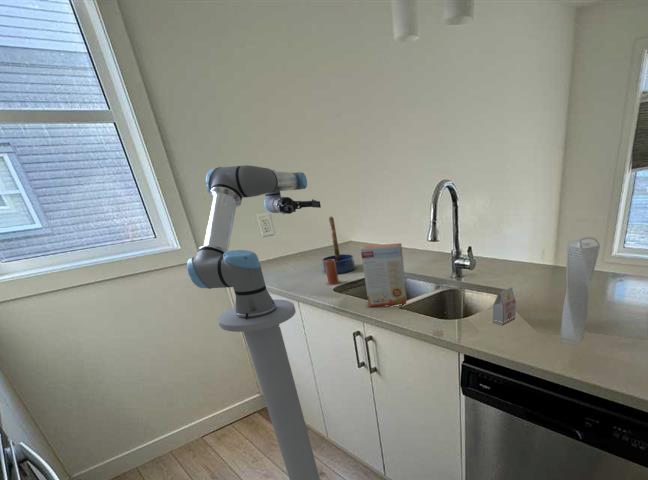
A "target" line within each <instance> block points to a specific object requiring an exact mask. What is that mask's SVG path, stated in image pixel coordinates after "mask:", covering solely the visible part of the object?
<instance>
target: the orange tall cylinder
mask: <svg viewBox="0 0 648 480" xmlns="http://www.w3.org/2000/svg"><path fill="white" fill-rule="evenodd" d="M324 262H325V268H326V272H325V274H326V279H327V282H328V285H337V284H339V283H340V281H339V274H337V269H336V263H335V259H328V260H325V261H324Z"/></svg>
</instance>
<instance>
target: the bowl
mask: <svg viewBox="0 0 648 480" xmlns="http://www.w3.org/2000/svg"><path fill="white" fill-rule="evenodd" d="M328 259H335V263H336V269H337V274H338V275H339V274H345V273H349V272H352V271H353V270H355V268H356V265H355V258H354V255H353V254H347V253H345V254H344V253H342V254H341V253H340V260H341V261H336V257H335V254H334V255H328V256H326V257H323V258H322V259H321V262H322V267H323V268H322V269H323V271H324V273H326V268H325V262H324V261H325V260H328Z"/></svg>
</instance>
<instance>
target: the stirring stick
mask: <svg viewBox="0 0 648 480" xmlns="http://www.w3.org/2000/svg"><path fill="white" fill-rule="evenodd" d="M334 218H335V217H333V216H329V217H328V221H329V228H330V232H331V233H330V234H331V239H332V244H333V250H334V251H333V252H334V255H335V257H336V261H341V260H340V255H341V253H340V249H339V242H338V237H337V236H338V235H337V231H336V223H335V219H334Z"/></svg>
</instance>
